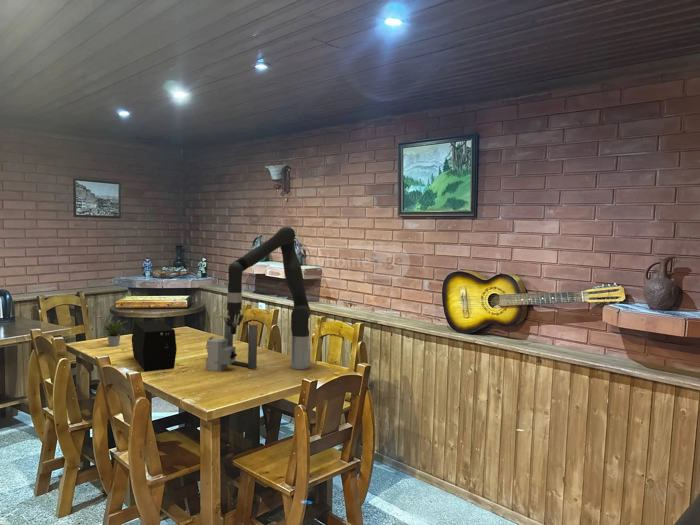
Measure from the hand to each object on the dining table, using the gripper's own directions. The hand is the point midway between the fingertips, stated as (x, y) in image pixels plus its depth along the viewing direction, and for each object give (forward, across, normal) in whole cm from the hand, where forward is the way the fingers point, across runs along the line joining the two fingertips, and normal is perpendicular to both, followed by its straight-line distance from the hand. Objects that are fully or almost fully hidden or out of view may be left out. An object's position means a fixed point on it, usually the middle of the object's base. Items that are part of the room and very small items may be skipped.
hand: (233, 334), depth 258 cm
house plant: (+18, 0, +90) cm, 91 cm away
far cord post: (+18, +6, +8) cm, 20 cm away
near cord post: (+18, +6, -8) cm, 20 cm away
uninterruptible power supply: (+18, -16, +40) cm, 47 cm away
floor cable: (+18, +6, 0) cm, 19 cm away
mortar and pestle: (+18, +8, +19) cm, 27 cm away
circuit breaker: (+18, -5, +3) cm, 19 cm away
